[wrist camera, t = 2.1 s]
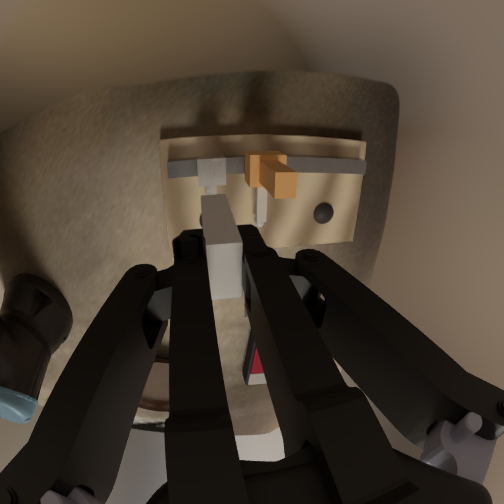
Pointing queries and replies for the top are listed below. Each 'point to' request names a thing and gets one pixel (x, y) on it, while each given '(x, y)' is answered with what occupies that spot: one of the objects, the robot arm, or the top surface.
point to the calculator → (253, 365)
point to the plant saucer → (157, 387)
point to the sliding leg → (269, 179)
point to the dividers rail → (218, 165)
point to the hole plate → (278, 210)
